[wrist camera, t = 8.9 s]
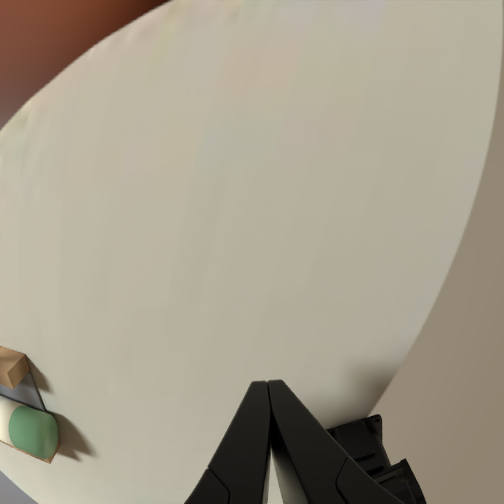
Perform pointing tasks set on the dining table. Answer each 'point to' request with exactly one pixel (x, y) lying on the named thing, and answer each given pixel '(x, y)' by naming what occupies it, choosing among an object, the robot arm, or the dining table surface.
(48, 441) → the bottle
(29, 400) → the cradle
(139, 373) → the dining table surface
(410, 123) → the dining table surface
